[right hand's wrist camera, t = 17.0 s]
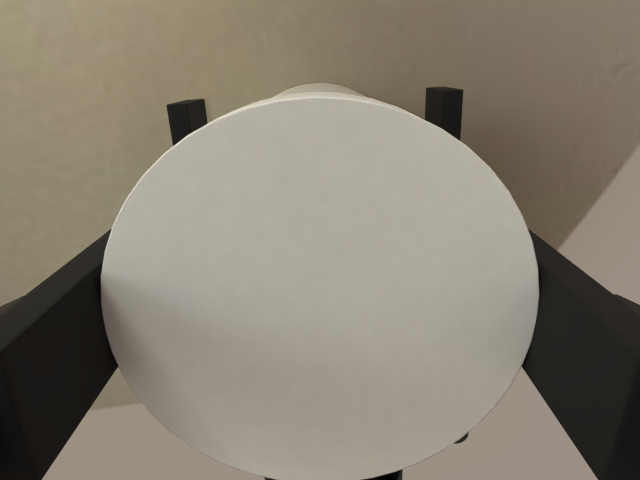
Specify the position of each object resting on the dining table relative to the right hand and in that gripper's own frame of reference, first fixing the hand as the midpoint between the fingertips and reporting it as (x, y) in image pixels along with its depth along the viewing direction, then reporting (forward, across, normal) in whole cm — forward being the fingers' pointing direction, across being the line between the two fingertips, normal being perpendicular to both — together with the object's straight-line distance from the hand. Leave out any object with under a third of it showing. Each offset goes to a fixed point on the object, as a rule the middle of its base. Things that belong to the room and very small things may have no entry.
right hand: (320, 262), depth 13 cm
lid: (-3, 0, 0) cm, 3 cm away
